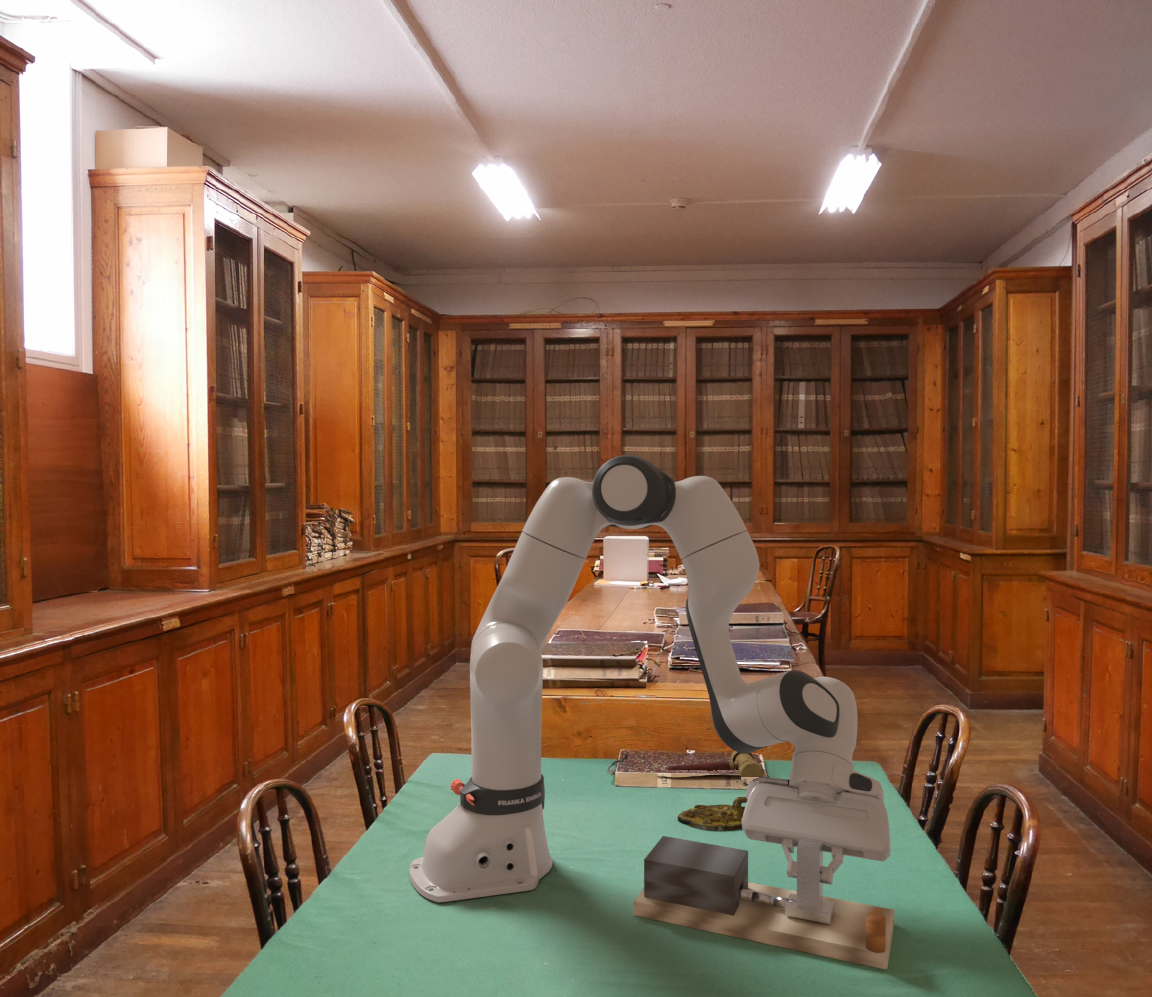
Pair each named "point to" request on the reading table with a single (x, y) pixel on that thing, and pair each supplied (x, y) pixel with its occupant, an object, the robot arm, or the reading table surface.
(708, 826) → the seal
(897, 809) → the reading table surface
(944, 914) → the reading table surface
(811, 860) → the chain end
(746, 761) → the gavel
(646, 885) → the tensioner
